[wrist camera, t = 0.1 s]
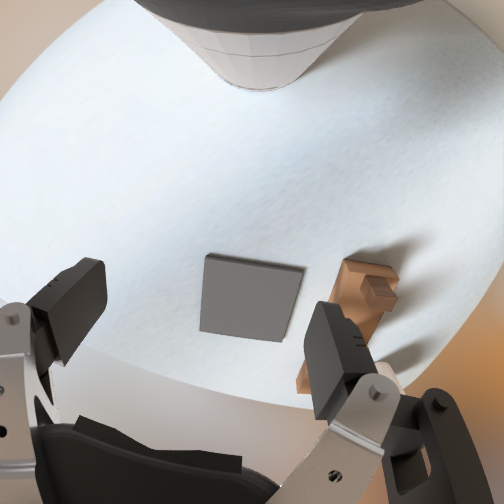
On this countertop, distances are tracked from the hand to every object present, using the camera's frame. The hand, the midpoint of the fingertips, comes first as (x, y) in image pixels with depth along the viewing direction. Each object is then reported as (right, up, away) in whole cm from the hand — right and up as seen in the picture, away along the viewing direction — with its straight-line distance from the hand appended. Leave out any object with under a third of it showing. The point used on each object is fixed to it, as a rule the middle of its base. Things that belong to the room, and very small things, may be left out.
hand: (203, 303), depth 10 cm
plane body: (+13, -8, +23) cm, 28 cm away
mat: (+1, -4, +21) cm, 22 cm away
